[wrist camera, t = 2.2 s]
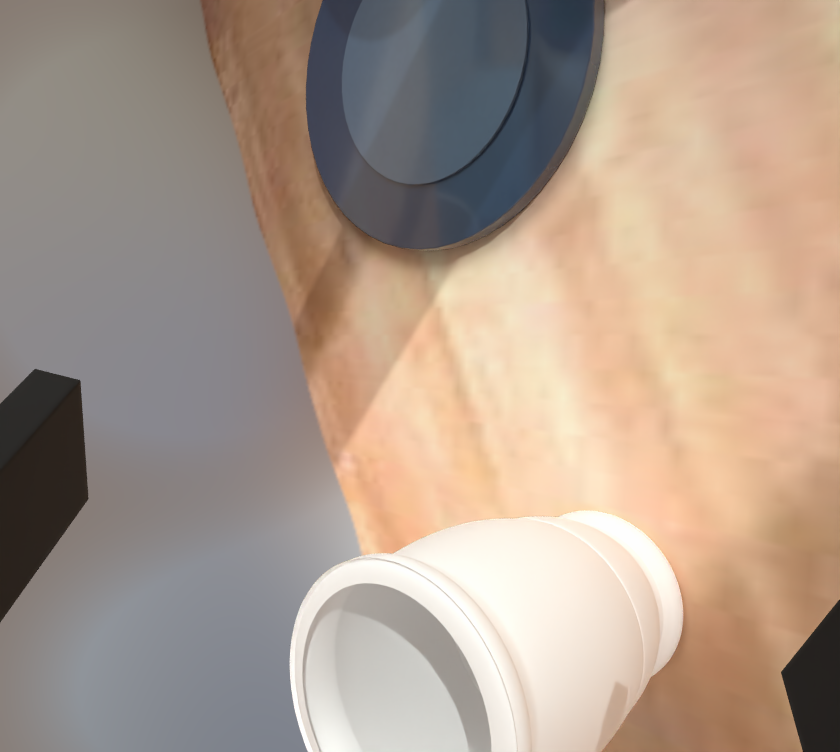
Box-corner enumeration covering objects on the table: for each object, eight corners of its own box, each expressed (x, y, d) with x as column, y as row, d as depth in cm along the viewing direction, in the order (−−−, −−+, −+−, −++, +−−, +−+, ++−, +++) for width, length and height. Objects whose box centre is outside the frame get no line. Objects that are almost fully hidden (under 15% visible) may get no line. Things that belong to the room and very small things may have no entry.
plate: (289, 10, 50) (274, 4, 50) (538, -230, 38) (525, -244, 37) (359, 301, 48) (345, 300, 47) (657, 148, 35) (645, 143, 34)
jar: (538, 704, 40) (320, 851, 29) (489, 507, 42) (263, 574, 30) (739, 703, 33) (556, 896, 22) (671, 468, 35) (467, 536, 24)
